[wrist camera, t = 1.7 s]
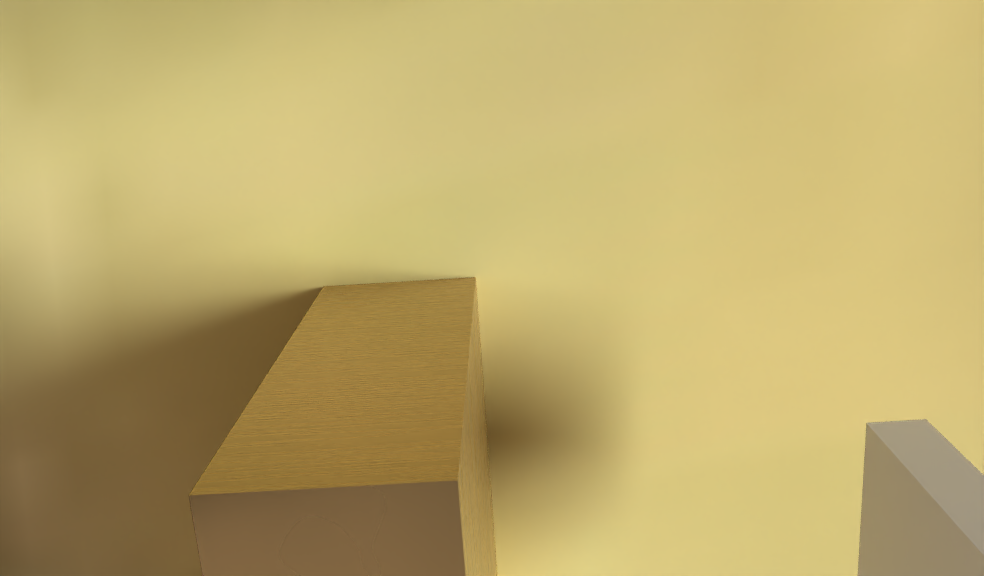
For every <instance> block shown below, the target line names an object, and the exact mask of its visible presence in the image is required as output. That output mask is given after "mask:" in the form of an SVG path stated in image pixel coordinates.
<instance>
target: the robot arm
mask: <svg viewBox="0 0 984 576" xmlns="http://www.w3.org/2000/svg"><path fill="white" fill-rule="evenodd" d="M858 576H984V475H983V474H982V473H981V472H980V471H979V470H978V469H977V468H976V467H975V466H974V465H973V464H972V463H971V462H970V461H968V460H967V459H966V458H965V457H964V456H963V455H962V454H961V453H960V452H959V451H958V450H957V449H956V448H955V447H954V446H953V445H952V444H951V443H950V442H949V441H948V440H947V439H946V438H945V437H944V436H943V435H942V434H941V433H940V432H939V431H938V430H936V429H935V428H934V427H933V426H932V425H931V424H930V423H929V422H928V421H927V420H926V419H923V420H906V421H890V422H873V423H866V440H865V457H864V474H863V491H862V509H861V526H860V543H859V561H858Z"/></svg>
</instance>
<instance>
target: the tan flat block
mask: <svg viewBox="0 0 984 576" xmlns="http://www.w3.org/2000/svg"><path fill="white" fill-rule="evenodd" d="M189 499H190V505H191V511H192V517H193V523H194V529H195V534H196V540H197V546H198V552H199V558H200V563H201V569H202V575H203V576H497V564H496V551H495V537H494V523H493V509H492V495H491V482H490V468H489V454H488V440H487V426H486V413H485V399H484V385H483V371H482V357H481V343H480V330H479V316H478V302H477V288H476V277H472V278H456V279H439V280H423V281H407V282H390V283H374V284H357V285H341V286H324V287H323V288H322V290H321V291H320V293H319V294H318V296H317V298H316V299H315V301H314V302H313V304H312V305H311V307H310V308H309V310H308V312H307V313H306V315H305V316H304V318H303V319H302V321H301V322H300V324H299V325H298V327H297V329H296V330H295V332H294V333H293V335H292V336H291V338H290V339H289V341H288V342H287V344H286V346H285V347H284V349H283V350H282V352H281V353H280V355H279V356H278V358H277V360H276V361H275V363H274V364H273V366H272V367H271V369H270V370H269V372H268V373H267V375H266V377H265V378H264V380H263V381H262V383H261V384H260V386H259V387H258V389H257V390H256V392H255V394H254V395H253V397H252V398H251V400H250V401H249V403H248V404H247V406H246V408H245V409H244V411H243V412H242V414H241V415H240V417H239V418H238V420H237V421H236V423H235V425H234V426H233V428H232V429H231V431H230V432H229V434H228V435H227V437H226V438H225V440H224V442H223V443H222V445H221V446H220V448H219V449H218V451H217V452H216V454H215V456H214V457H213V459H212V460H211V462H210V463H209V465H208V466H207V468H206V469H205V471H204V473H203V474H202V476H201V477H200V479H199V480H198V482H197V483H196V485H195V486H194V488H193V490H192V491H191V493H190V494H189Z"/></svg>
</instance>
